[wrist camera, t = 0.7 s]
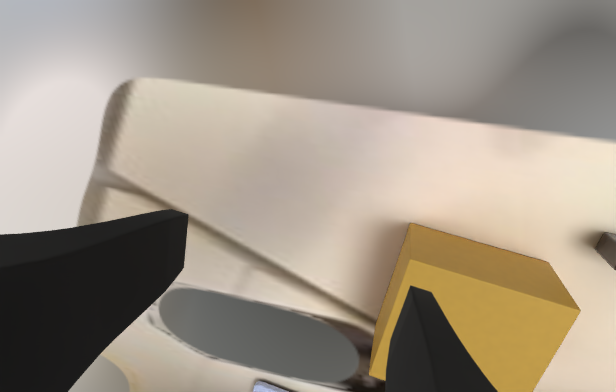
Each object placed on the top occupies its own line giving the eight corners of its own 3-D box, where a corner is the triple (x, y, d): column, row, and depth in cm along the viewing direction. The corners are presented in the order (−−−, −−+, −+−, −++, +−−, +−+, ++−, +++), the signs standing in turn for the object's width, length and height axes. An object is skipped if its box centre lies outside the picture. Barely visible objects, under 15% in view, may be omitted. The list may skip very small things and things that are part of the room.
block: (495, 365, 22) (512, 427, 18) (375, 324, 23) (368, 375, 19) (549, 262, 19) (581, 310, 15) (410, 222, 20) (409, 258, 16)
